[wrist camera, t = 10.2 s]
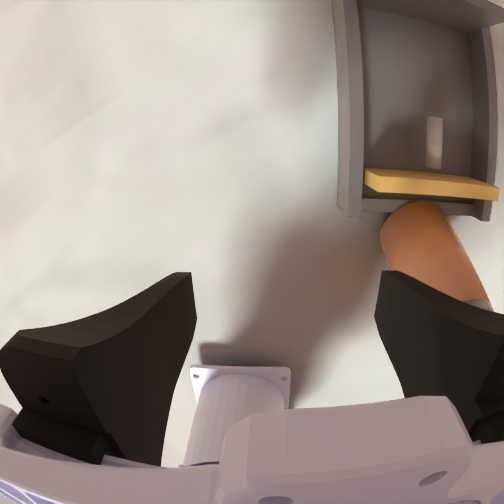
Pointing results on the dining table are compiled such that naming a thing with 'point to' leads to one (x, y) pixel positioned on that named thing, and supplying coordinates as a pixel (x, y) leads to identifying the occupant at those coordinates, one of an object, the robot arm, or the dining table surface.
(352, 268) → the dining table surface
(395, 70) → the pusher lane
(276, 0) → the dining table surface
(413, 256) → the jar
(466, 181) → the tan pusher block
